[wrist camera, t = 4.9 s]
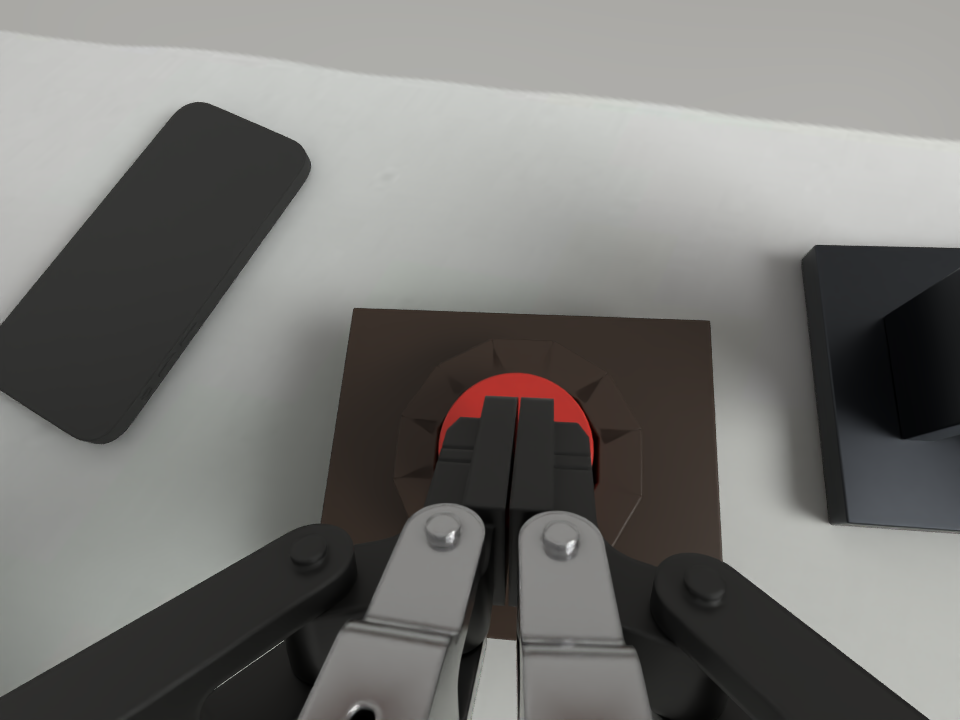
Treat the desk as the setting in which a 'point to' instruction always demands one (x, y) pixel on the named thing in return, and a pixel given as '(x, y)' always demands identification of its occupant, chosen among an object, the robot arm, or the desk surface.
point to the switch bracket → (887, 383)
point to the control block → (564, 361)
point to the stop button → (518, 387)
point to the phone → (147, 271)
